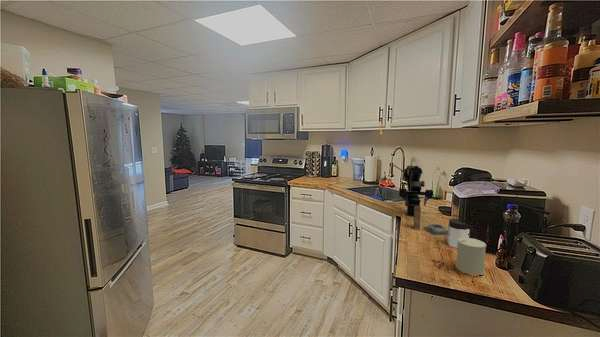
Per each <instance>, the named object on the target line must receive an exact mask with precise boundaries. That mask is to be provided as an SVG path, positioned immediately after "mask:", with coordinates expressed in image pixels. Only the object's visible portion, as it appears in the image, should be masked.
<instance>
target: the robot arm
mask: <svg viewBox="0 0 600 337" xmlns="http://www.w3.org/2000/svg"><path fill="white" fill-rule="evenodd" d="M422 174H423V168H421V167H419V165H406V168H404V170H403V173H402V178H404V180H403V181H405V182H406V184H407V185H406V186H407V188H402V187H401V188H399V190H398V197H400V198H403V200H404V206H405V207H406V213H405V216H409V217H414V206H420V207H421V200H420V197H419V196H424V198H423V199H424V201H423V206H424V207H426V206H427V205H426V204H427V202H428V200H431V199H433V197H434V190H433V189H425V191H422V188H425V185H426V184H425V180H420V179H421V177H422Z"/></svg>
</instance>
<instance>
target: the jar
mask: <svg viewBox="0 0 600 337" xmlns="http://www.w3.org/2000/svg"><path fill="white" fill-rule="evenodd" d="M458 219H459V218H451V219H449V221H448V224H447V231H448V235H447V245H448V246H449V247H451V248H455V249H457V246H458V239H459V238H470V228H469V229H468V224H466V223H462V222H460V221H459V220H458ZM468 234H469V235H468Z"/></svg>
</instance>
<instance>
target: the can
mask: <svg viewBox="0 0 600 337" xmlns="http://www.w3.org/2000/svg"><path fill="white" fill-rule="evenodd" d="M486 249H487V244H486V243H485V242H484V241H483V240H481V239H480V240H479V239H477V238H471V237H469V238H459V239H458V246H457V248H456V251H457V252H456V261H455V262H456V264H455V269H456V268H457V269H458V270H459V271H458V270H457V269H456V270H457V271H458V272H460V271H461V272H464V273H467V274H471V275H483V274H484V275H485V259H486ZM461 272H460V273H461ZM464 273H463V274H464ZM484 275H483V276H484Z"/></svg>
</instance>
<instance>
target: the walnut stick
mask: <svg viewBox="0 0 600 337" xmlns="http://www.w3.org/2000/svg"><path fill="white" fill-rule="evenodd" d="M421 208H422V207H421V205H420V206H414V216H413V230H415V231H420V230H421V212H422V209H421Z"/></svg>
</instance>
